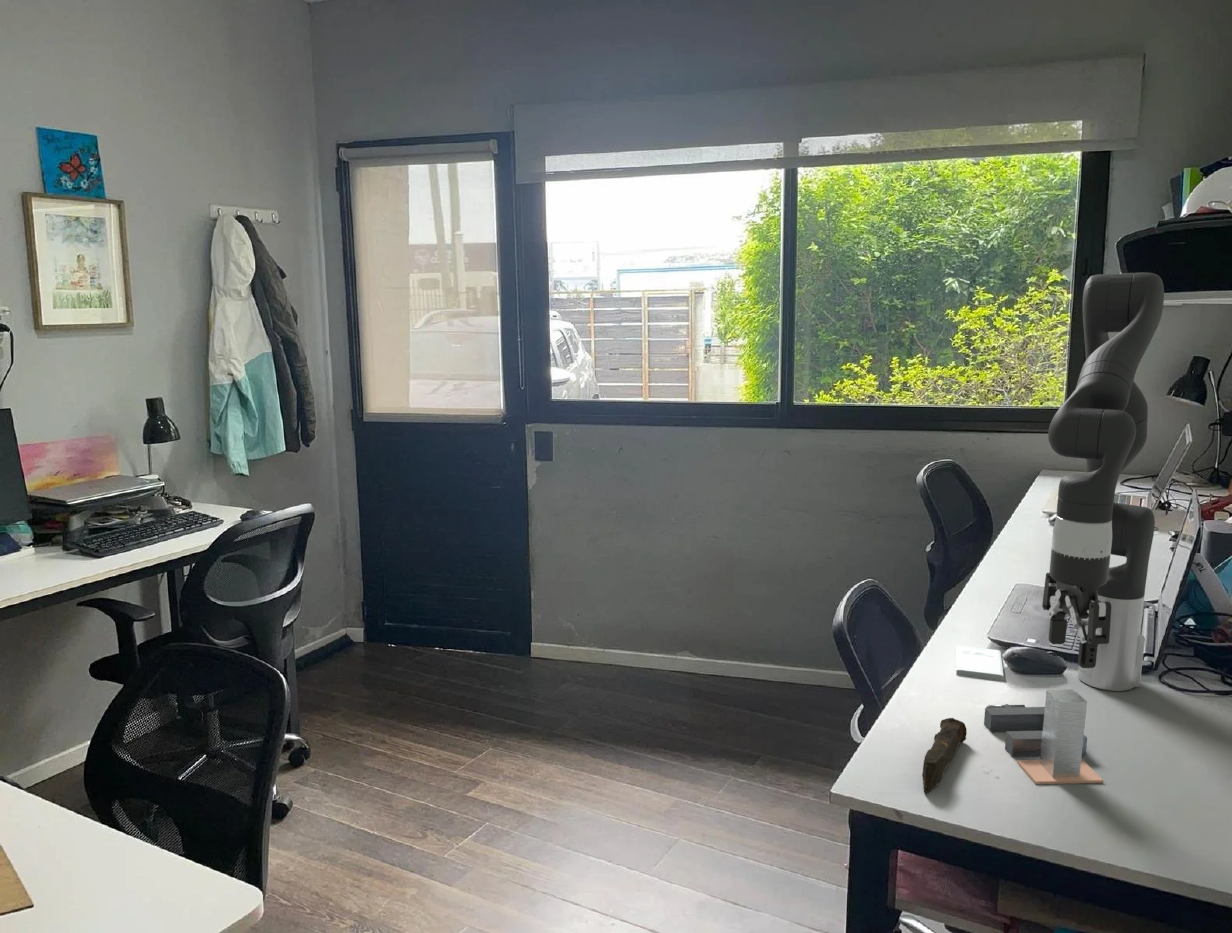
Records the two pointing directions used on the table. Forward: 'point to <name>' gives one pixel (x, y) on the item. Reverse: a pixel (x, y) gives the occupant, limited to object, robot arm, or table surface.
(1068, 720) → the steel bar
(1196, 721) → the table surface
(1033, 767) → the mat
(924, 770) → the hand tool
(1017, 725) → the vise
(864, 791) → the table surface
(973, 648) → the external hard drive
